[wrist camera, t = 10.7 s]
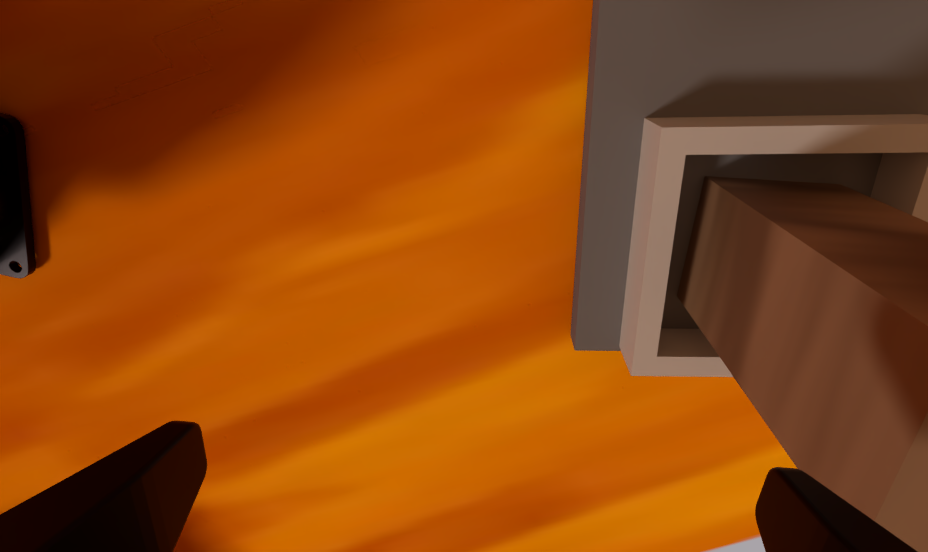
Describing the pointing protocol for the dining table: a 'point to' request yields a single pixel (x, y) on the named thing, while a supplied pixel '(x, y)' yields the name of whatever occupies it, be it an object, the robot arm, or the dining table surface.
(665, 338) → the base board
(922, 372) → the walnut post
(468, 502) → the dining table surface
